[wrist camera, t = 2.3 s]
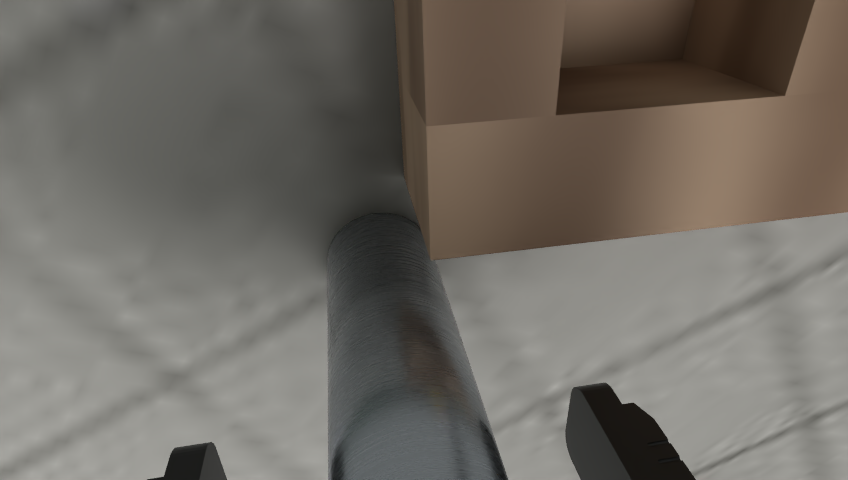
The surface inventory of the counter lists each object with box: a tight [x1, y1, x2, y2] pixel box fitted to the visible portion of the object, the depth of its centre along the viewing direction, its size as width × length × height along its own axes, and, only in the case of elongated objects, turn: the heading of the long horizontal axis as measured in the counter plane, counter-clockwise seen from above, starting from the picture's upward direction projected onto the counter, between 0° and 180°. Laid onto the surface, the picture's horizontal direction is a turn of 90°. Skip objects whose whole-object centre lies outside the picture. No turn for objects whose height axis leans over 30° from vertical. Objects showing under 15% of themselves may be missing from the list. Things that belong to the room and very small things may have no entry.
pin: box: [327, 213, 508, 480], centre depth 13 cm, size 4×4×12 cm
